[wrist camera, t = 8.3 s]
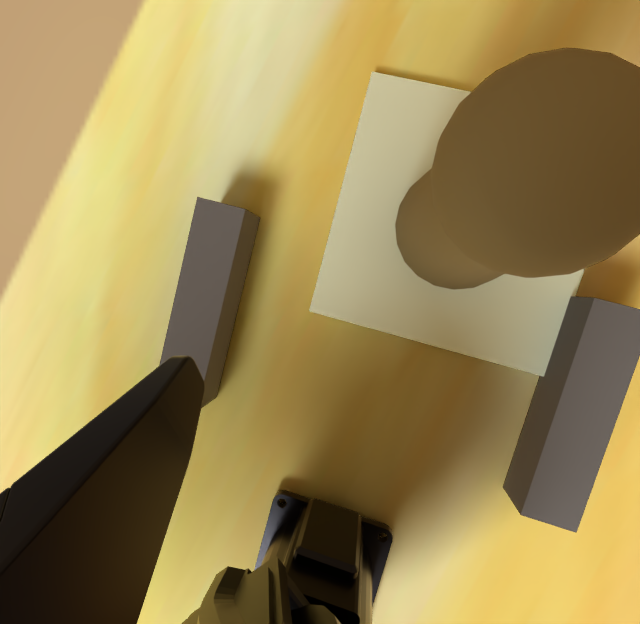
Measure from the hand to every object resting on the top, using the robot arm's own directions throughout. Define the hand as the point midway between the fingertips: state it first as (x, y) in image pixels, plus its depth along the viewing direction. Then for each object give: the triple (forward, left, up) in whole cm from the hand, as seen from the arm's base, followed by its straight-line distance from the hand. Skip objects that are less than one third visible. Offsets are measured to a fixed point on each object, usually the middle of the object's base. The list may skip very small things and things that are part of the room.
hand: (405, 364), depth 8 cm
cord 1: (-2, -9, -12) cm, 15 cm away
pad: (+5, -2, -12) cm, 14 cm away
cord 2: (-2, +9, -12) cm, 15 cm away
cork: (+5, -2, -12) cm, 13 cm away
